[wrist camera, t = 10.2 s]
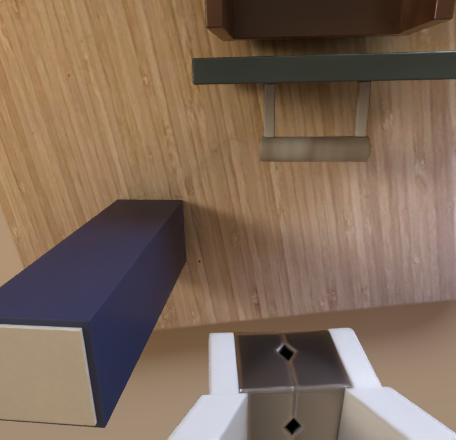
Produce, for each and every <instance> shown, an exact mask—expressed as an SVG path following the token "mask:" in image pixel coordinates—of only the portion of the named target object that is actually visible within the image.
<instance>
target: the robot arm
mask: <svg viewBox="0 0 456 440" xmlns="http://www.w3.org/2000/svg"><path fill="white" fill-rule="evenodd" d="M167 440H456V433H455V432H454V431H452V430H451V429H449V428H448V427H446V426H445V425H444V424H442V423H441V422H439V421H437V420H436V419H435V418H434V417H432V416H431V415H429V414H428V413H426V412H425V411H424V410H422V409H421V408H419V407H418V406H416V405H415V404H413V403H412V402H411V401H409V400H408V399H407V398H405V397H403V396H402V395H401V394H399V393H398V392H397V391H395V390H394V389H392V388H391V387H382V385H381V384H380V381H379V380H378V378H377V376H376V374H375V372H374V370H373V368H372V366H371V364H370V362H369V360H368V358H367V356H366V354H365V352H364V350H363V348H362V346H361V344H360V342H359V340H358V338H357V336H356V334H355V332H354V331H353V330H352V329H351V328H335V329H326V330H306V331H284V332H234V334H233V333H210V335H209V395H201V396H200V397H199V399H198V400H197V401H196V402H195V404H194V405H193V406H192V408H191V409H190V410H189V411H188V413H187V414H186V415H185V417H184V418H183V419H182V421H181V422H180V423H179V424H178V426H177V427H176V428H175V430H174V431H173V432H172V433H171V435H170V436H169V437H168V438H167Z"/></svg>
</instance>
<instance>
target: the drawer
mask: <svg viewBox="0 0 456 440" xmlns="http://www.w3.org/2000/svg"><path fill="white" fill-rule="evenodd" d="M454 5H455V0H205V16H206V28H207V29H209V30H210V31H211V32H212V33H213V34H215V35H216V36H217V37H218V38H219V39H221V40H222V41H242V40H272V39H303V38H333V37H364V36H395V35H409V34H411V33H414V32H417V31H420V30H423V29H425V28H428V27H431V26H434V25H437V24H439V23H442V22H445V21H448V20H450V19H452V18H453V12H454ZM192 73H193V84H194V85H204V84H252V83H265V84H264V137H261V138H260V161H261V162H366V161H368V159H369V156H370V148H371V144H370V138H369V137H368V136H366V133H367V122H368V111H369V99H370V88H371V81H393V80H441V79H456V51H430V52H395V53H360V54H324V55H289V56H254V57H218V58H193V59H192ZM346 81H358V84H357V96H356V109H355V122H354V134H353V135H354V136H329V137H274V136H275V83H299V82H346Z"/></svg>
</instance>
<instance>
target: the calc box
mask: <svg viewBox="0 0 456 440" xmlns="http://www.w3.org/2000/svg"><path fill="white" fill-rule="evenodd" d="M185 263H186V250H185V233H184V216H183V201H182V200H116V201H115V202H114V203H112V204H111V205H110V206H108V207H107V208H106V209H104V210H103V211H102V212H100V213H99V214H98V215H96V216H95V217H94V218H92V219H91V220H90V221H88V222H87V223H85V224H84V225H83V226H81V227H80V228H79V229H77V230H76V231H75V232H73V233H72V234H71V235H69V236H68V237H67V238H65V239H64V240H63V241H61V242H60V243H59V244H57V245H56V246H55V247H53V248H52V249H51V250H49V251H48V252H47V253H45V254H44V255H43V256H41V257H40V258H39V259H37V260H36V261H35V262H33V263H32V264H31V265H29V266H28V267H27V268H25V269H24V270H23V271H21V272H20V273H19V274H17V275H16V276H15V277H13V278H12V279H11V280H9V281H8V282H7V283H5V284H4V285H3V286H1V287H0V420H5V421H18V422H19V421H20V422H33V423H46V424H59V425H74V426H88V427H100V428H105V427H106V425H107V422H108V421H109V419H110V416H111V414H112V412H113V410H114V408H115V406H116V404H117V402H118V400H119V398H120V396H121V394H122V392H123V390H124V388H125V386H126V384H127V382H128V380H129V378H130V376H131V373H132V371H133V369H134V367H135V365H136V363H137V361H138V359H139V357H140V355H141V353H142V351H143V349H144V347H145V345H146V343H147V341H148V339H149V336H150V334H151V333H152V331H153V328H154V326H155V324H156V322H157V320H158V318H159V316H160V314H161V312H162V310H163V308H164V306H165V304H166V302H167V300H168V298H169V296H170V294H171V292H172V290H173V288H174V285H175V283H176V281H177V279H178V277H179V275H180V273H181V271H182V269H183V267H184V265H185Z"/></svg>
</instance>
